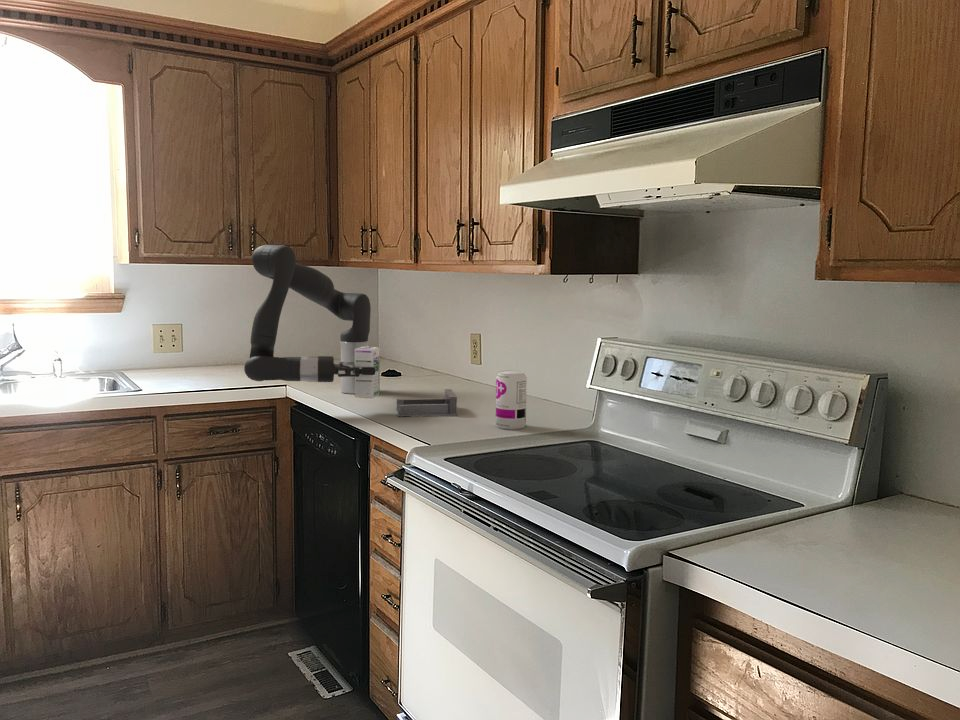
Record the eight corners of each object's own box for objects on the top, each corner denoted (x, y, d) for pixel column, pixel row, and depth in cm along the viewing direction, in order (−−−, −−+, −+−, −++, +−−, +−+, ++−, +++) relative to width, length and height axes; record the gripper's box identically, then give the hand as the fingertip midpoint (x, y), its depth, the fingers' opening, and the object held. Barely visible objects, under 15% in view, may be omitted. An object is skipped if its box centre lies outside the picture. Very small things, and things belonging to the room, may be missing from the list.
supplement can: (501, 430, 215) (501, 374, 213) (492, 424, 222) (492, 370, 220) (530, 429, 217) (531, 373, 215) (520, 423, 225) (520, 369, 223)
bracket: (396, 407, 246) (396, 390, 245) (451, 406, 248) (452, 389, 247) (398, 416, 232) (398, 398, 231) (457, 415, 234) (457, 396, 234)
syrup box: (373, 398, 233) (373, 348, 232) (353, 397, 234) (354, 347, 233) (379, 395, 239) (380, 346, 237) (360, 394, 240) (361, 345, 238)
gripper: (315, 359, 226) (375, 359, 229) (318, 353, 240) (374, 353, 243) (315, 385, 227) (375, 385, 229) (318, 378, 241) (374, 378, 243)
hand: (374, 369), depth 236 cm, fingers closed on syrup box, 7 cm apart
